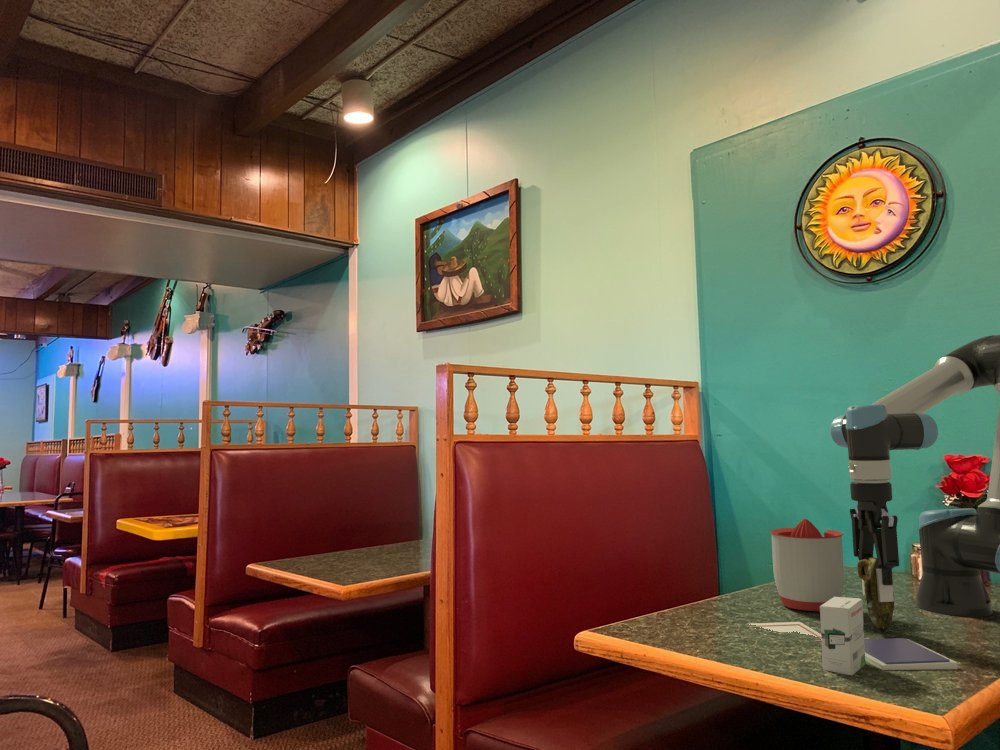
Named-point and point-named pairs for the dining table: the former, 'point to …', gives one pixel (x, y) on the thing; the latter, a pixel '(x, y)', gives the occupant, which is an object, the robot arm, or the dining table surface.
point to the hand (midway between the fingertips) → (878, 597)
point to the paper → (788, 628)
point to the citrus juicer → (807, 565)
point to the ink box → (842, 635)
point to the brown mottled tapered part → (875, 596)
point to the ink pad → (904, 655)
